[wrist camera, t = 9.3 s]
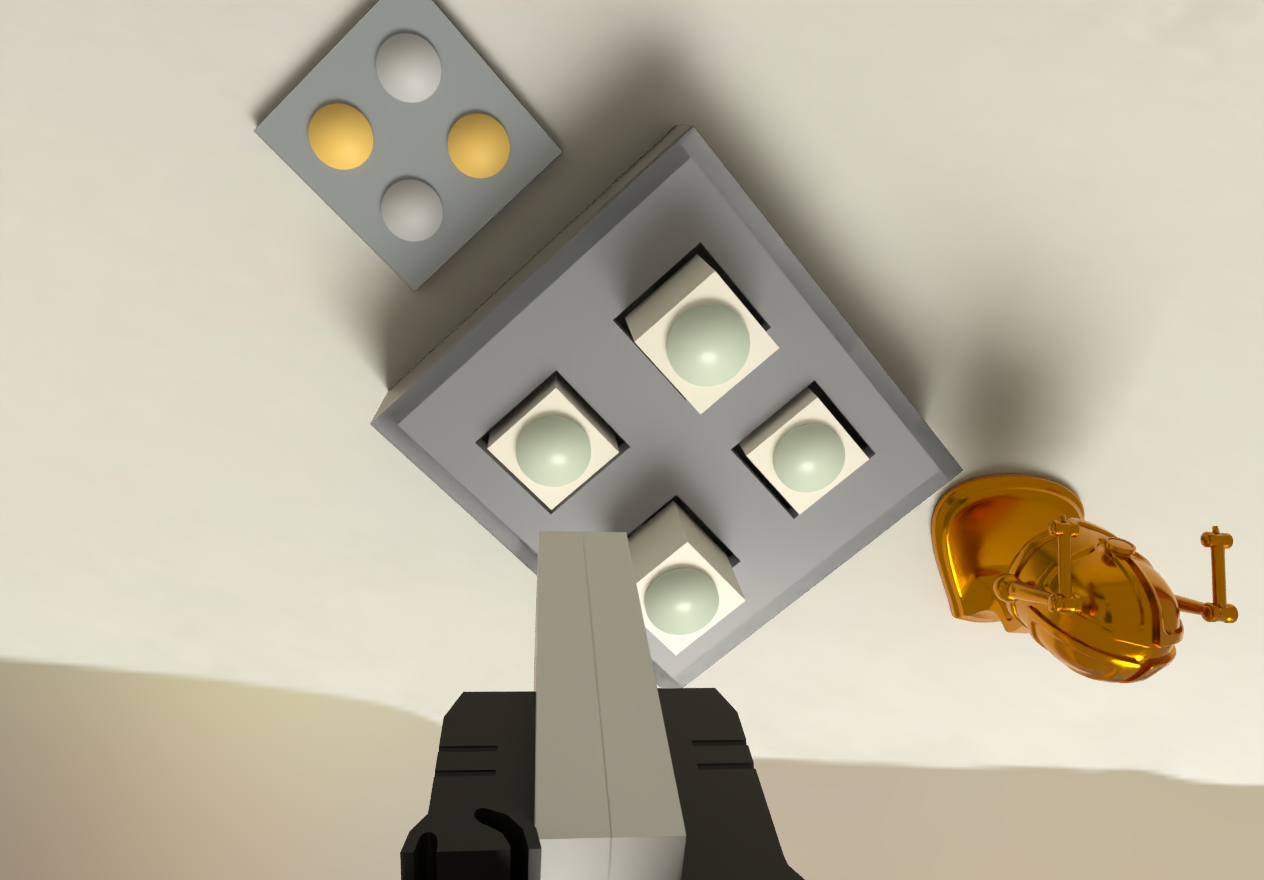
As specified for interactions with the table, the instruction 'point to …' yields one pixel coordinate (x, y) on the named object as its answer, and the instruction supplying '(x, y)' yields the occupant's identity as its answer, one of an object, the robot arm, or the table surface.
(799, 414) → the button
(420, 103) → the card
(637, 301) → the button box
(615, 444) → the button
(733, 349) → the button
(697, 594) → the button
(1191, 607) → the figurine
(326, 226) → the table surface
